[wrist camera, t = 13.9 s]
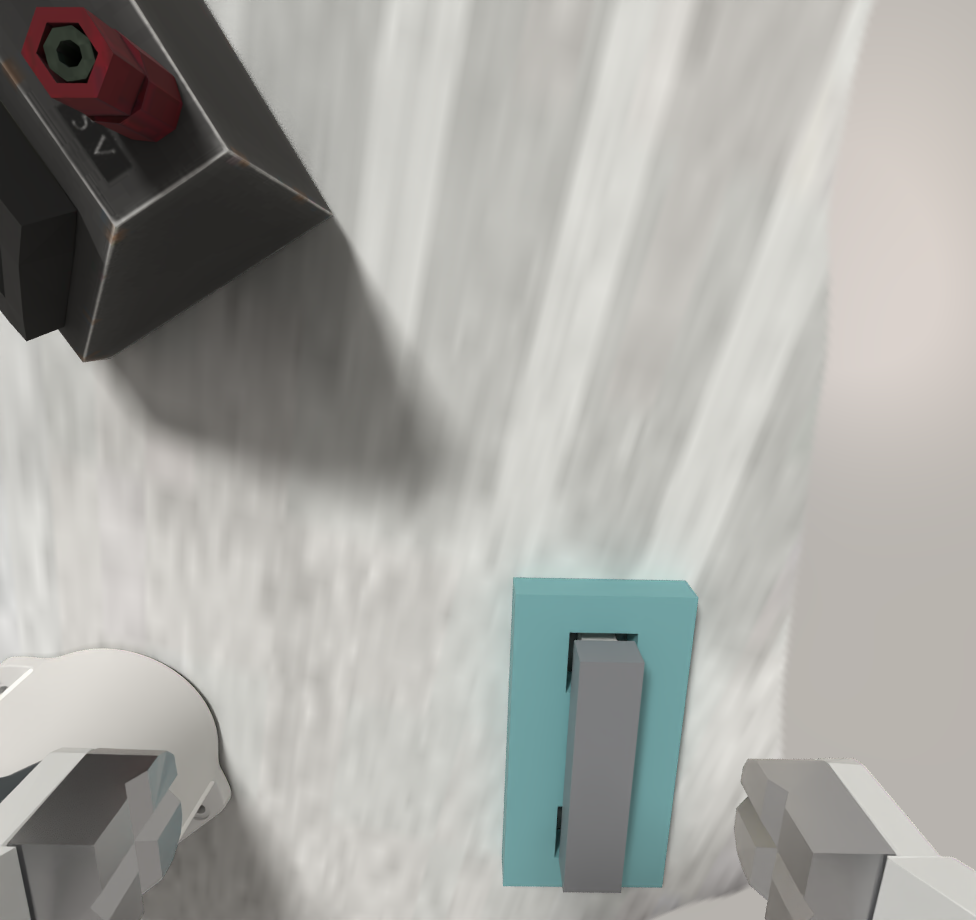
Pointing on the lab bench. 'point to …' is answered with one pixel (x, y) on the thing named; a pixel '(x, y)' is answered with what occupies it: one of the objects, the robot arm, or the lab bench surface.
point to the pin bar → (599, 761)
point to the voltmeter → (132, 168)
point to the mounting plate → (545, 714)
